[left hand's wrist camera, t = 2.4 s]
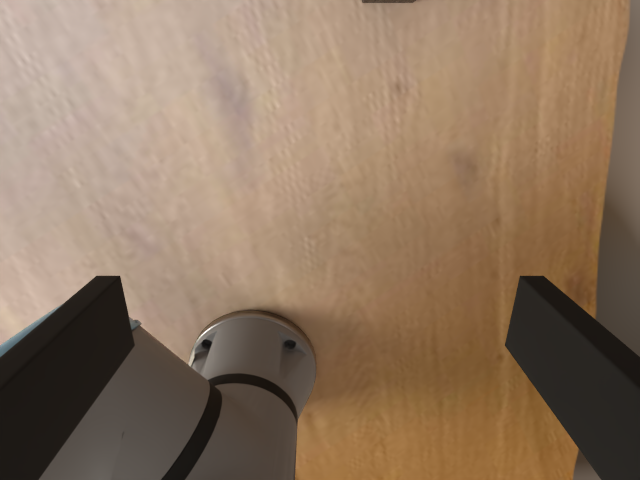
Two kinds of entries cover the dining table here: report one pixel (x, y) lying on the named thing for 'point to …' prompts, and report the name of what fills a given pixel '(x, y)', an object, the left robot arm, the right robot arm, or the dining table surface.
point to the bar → (388, 1)
